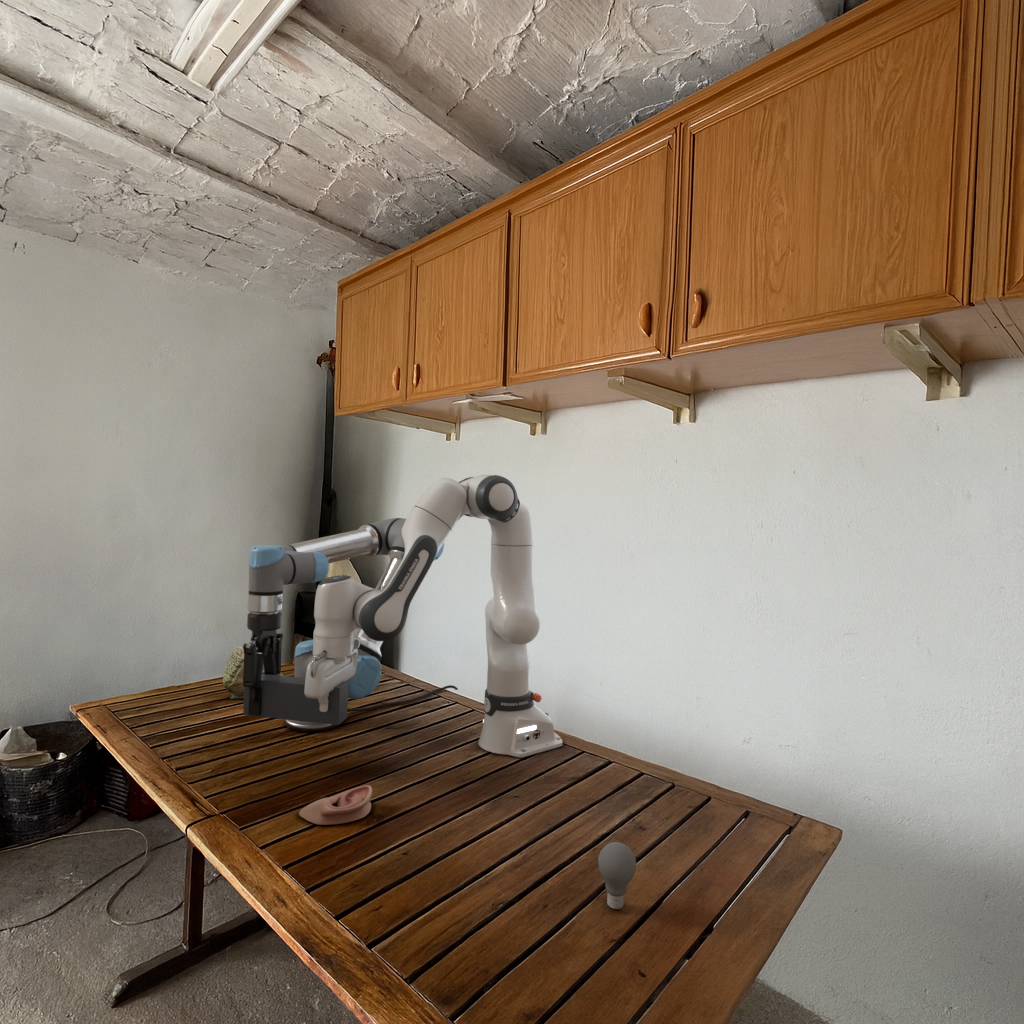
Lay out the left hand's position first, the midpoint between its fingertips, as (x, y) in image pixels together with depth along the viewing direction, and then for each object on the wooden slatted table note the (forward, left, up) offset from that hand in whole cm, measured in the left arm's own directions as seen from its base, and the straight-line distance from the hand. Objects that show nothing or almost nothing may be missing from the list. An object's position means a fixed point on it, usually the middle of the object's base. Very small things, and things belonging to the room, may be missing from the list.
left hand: (261, 710), depth 148 cm
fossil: (-25, -48, -13) cm, 55 cm away
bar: (-4, +7, -1) cm, 9 cm away
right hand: (-9, +15, +3) cm, 17 cm away
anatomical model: (+2, +32, -13) cm, 34 cm away
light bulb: (-10, +89, -13) cm, 90 cm away
